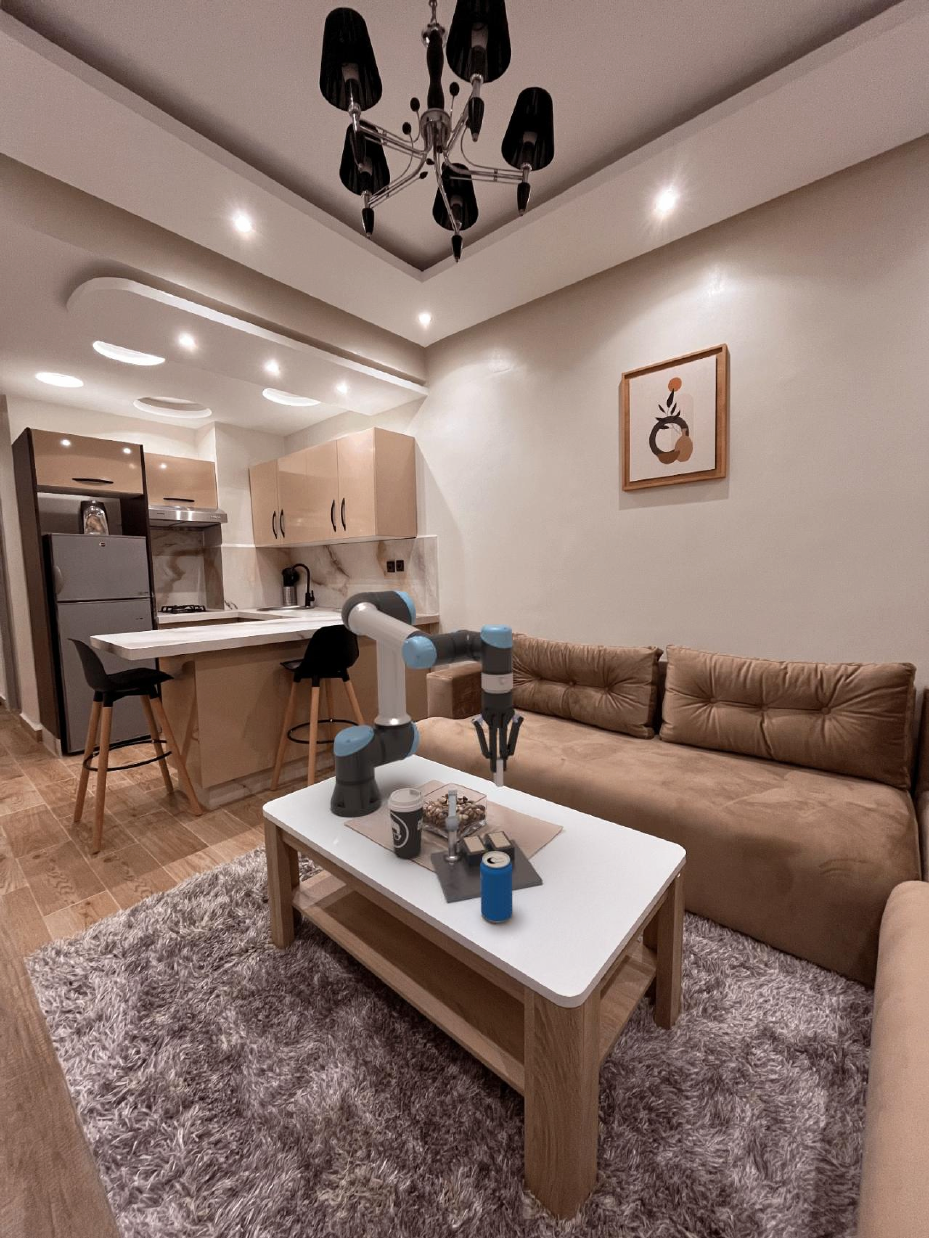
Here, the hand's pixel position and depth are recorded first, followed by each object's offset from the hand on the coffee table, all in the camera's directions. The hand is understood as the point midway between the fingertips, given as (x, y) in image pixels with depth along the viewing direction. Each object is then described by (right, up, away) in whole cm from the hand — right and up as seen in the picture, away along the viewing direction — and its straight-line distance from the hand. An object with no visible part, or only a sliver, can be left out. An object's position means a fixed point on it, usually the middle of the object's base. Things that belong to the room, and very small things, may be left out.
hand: (498, 784), depth 122 cm
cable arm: (-11, -10, +7) cm, 17 cm away
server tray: (-4, -19, -4) cm, 20 cm away
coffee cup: (-23, -19, +4) cm, 30 cm away
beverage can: (-2, -21, -19) cm, 28 cm away
